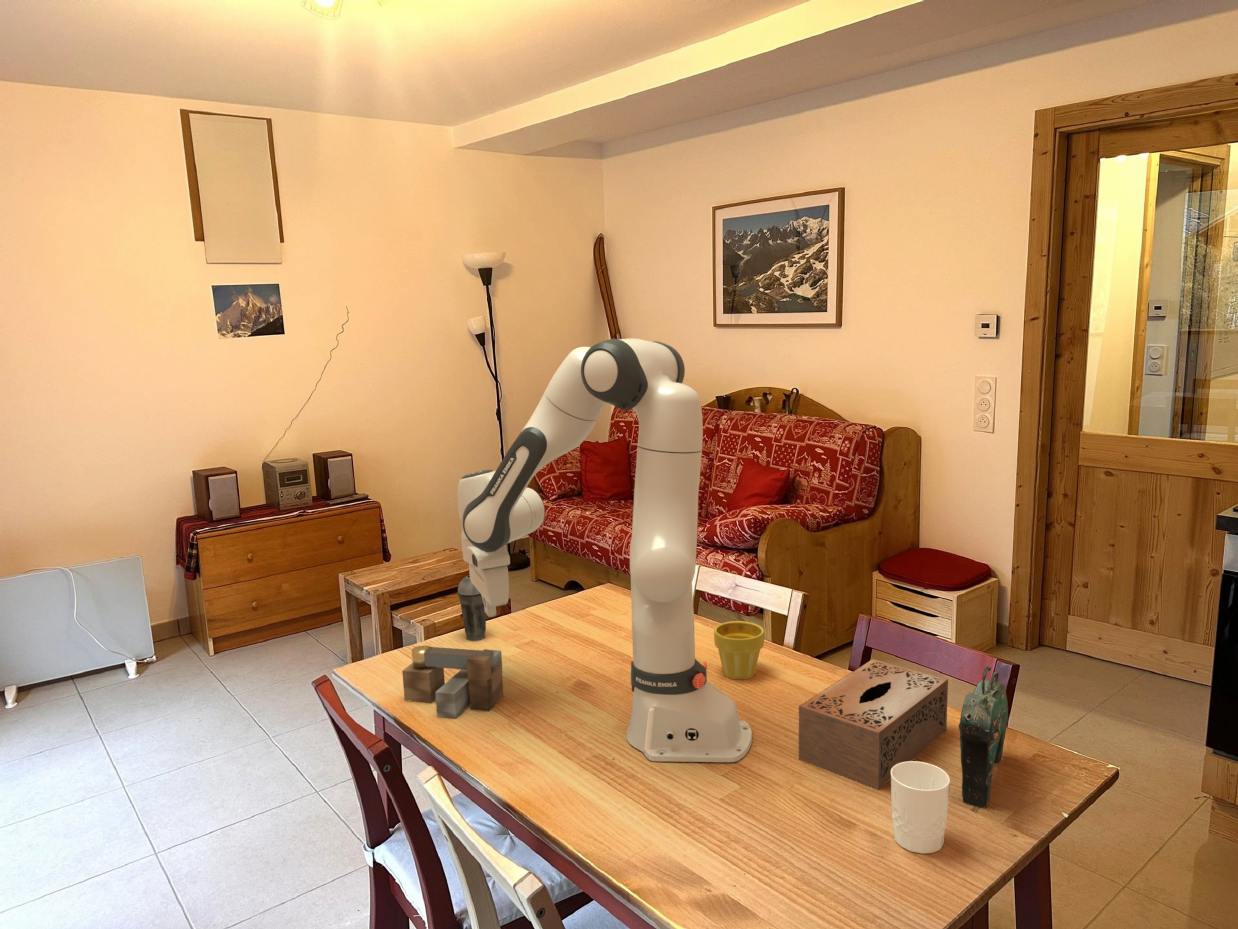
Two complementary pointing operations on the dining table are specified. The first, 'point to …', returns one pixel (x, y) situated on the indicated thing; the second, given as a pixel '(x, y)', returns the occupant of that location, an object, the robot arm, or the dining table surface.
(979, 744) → the dark green upright piece
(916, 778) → the white cup
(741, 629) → the plant pot
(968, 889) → the dining table surface
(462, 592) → the beverage cup
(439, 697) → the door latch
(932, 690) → the tissue box cover
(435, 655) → the bar
